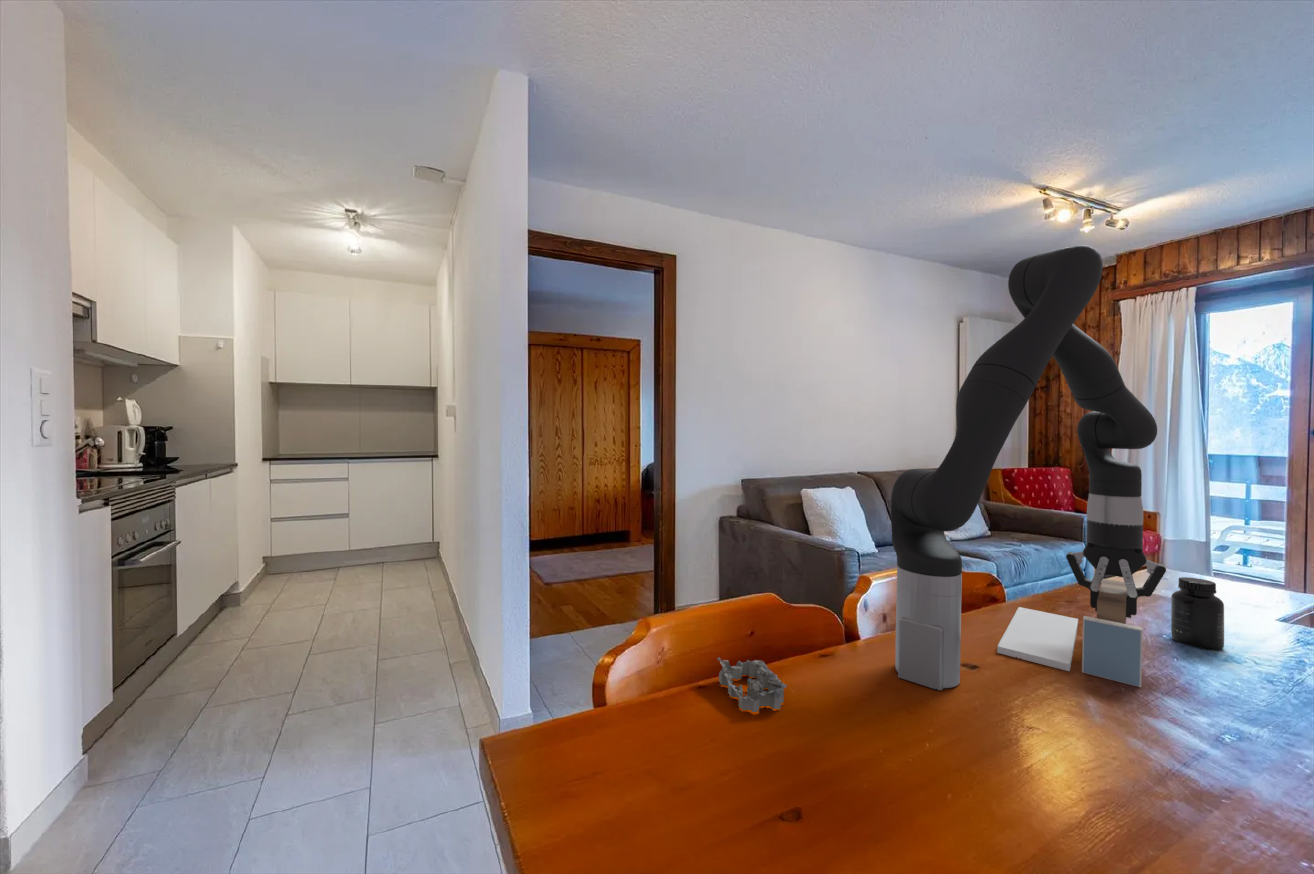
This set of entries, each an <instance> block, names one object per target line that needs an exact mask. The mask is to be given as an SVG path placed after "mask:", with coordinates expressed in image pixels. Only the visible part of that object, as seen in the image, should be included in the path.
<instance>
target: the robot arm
mask: <svg viewBox="0 0 1314 874" xmlns="http://www.w3.org/2000/svg"><path fill="white" fill-rule="evenodd" d="M1103 269H1104V266H1103V258H1102V255H1101V253H1100V252H1099V251H1098V250H1097V249H1096V248H1095V247H1092V246H1089V245H1084V244H1083V245H1073V246H1067V247H1063V248H1062V247H1061V248H1059V249H1055V250H1051V251H1047V252H1043V253H1039V254H1036V255H1032V256H1028V257H1026V258H1023V259H1021V260H1020V261H1018V262H1017V263H1015V265H1014V266H1013V267H1012V270H1011V271H1010V273H1009V276H1008V282H1007V285H1008V292H1009V296H1010V297H1011V299H1012V302H1013V304H1014V305H1015V307H1016V308H1017V310H1018V311H1019V313H1020V314H1021V315H1022V317H1023V320H1021V321H1020V322H1019V323H1018V324H1017V325H1016V326H1014V328H1012V329H1011V330H1010V331H1008V332H1007V333H1006V334H1004V336H1002V337H1001V338H1000V339H998V340H996V342H995V343H994V344H992V345H990V347H988V348H987V349H986V350H985V351H984V352H983V353H982V354H980V356H979V357H978V358H977V360H976V361H975V362H974V364H973V365H972V366H971V368H970V371H969V373H968V374H967V376H966V378H965V380H964V381H963V383H962V385H961V387H960V388H959V391H958V393H957V397H956V403H955V404H956V405H955V407H956V408H955V412H956V413H955V416H956V417H955V418H956V419H955V420H956V421H955V422H956V432H955V435H954V439H953V441H952V444H951V447H950V448H949V450H948V452H947V453H946V455H945V456H944V458H943V460H942V462H941V463H940V465H939V466H938V468H937V469H936V470H932V469H926V468H925V469H924V468H923V469H922V468H914V469H909V470H906V471H905V472H903V473H901V474H900V475H899V476H898V477H897V478H896V481H895V482H894V484H893V487H892V491H891V497H890V521H891V522H890V523H891V524H890V525H891V527H890V528H891V542H892V546H893V549H894V552H895V554H896V601H895V602H896V604H895V607H896V608H895V609H896V610H895V661H894V662H895V665H894V666H895V671H896V672H897V677H898V678H899V679H903V680H905V681H909V682H911V683H914V684H918V685H921V686H924V687H928V688H930V689H933V690H936V689H937V691H939V690H941V691H943V690H944V689H951V688H955V687H957V686H958V685H959V684H961V683H960V681H961V641H962V640H961V636H962V635H961V634H962V633H961V630H962V593H963V591H962V588H963V587H962V582H963V574H962V573H963V559H962V556H961V555H960V553H959V552H958V551H957V550H956V549H955V548H954V547H953V546H952V545H951V543H949V541H948V539H947V537H946V534H945V532H953V531H956V530H959V529H960V528H961V527H963V526H964V525H966V523H967V522H969V520H970V519H971V518H972V517H973V514H974V513H975V511H976V508H977V506H978V505H979V502H980V499H981V497H982V495H983V492H984V490H985V487H986V485H987V483H988V480H989V477H990V475H991V472H992V470H993V468H994V465H995V463H996V460H997V459H998V456H999V455H1000V452H1001V451H1002V449H1003V446H1004V445H1005V443H1006V441H1007V439H1008V438H1009V435H1010V433H1011V431H1012V429H1013V427H1014V425H1015V423H1016V422H1017V420H1018V418H1019V417H1020V415H1021V413H1022V412H1023V411H1024V409H1025V407H1026V405H1027V404H1028V402H1029V400H1030V398H1031V396H1032V394H1033V392H1034V391H1035V389H1036V387H1037V385H1038V382H1039V380H1040V378H1041V377H1042V375H1043V372H1044V371H1045V369H1046V367H1047V366H1048V364H1049V363H1050V361H1051V359H1052V358H1053V359H1054V360H1055V363H1057V366H1058V367H1059V368H1060V370H1061V373H1062V375H1063V377H1064V380H1065V381H1066V384H1067V386H1068V388H1069V390H1070V392H1071V395H1072V396H1073V399H1074V401H1075V403H1076V404H1077V405H1078V407H1079V408H1081V409H1084V410H1086V411H1089V412H1086V413H1085V414H1084V415H1083V416H1082V417H1080V420H1079V421H1078V424H1077V428H1076V432H1077V433H1076V434H1077V438H1078V441H1079V444H1080V447H1081V448H1082V452H1083V455H1084V459H1085V462H1086V465H1087V466H1086V467H1087V468H1088V472H1089V473H1088V475H1089V476H1088V484H1089V485H1088V498H1087V503H1086V504H1087V506H1086V544H1085V545H1086V546H1085V547H1084V548H1083V551H1075V552H1072V551H1069V552H1067V554H1066V555H1065V558H1066V561H1067V562H1068V565H1069V567H1070V569H1071V571H1072V574H1073V576H1074V577H1075V580H1076V582H1077V584H1078V585H1079V586H1080V587H1085V588H1086V589H1088V590H1089V592H1090V594H1089V596H1090V597H1089V601H1090V603H1089V606H1090V607H1091V608H1092V609H1094V611H1095V612H1096V613H1097V599H1098V595H1099V591H1100V588H1101V584H1102V580H1103V579H1104V576H1115V577H1118V578H1123V582H1125V585H1126V589H1127V594H1126V618H1129V619H1131V618H1132V616H1136V615H1137V614H1138V613H1137V612H1138V609H1137V607H1138V604H1137V602H1138V599H1139V598H1141V597H1148V598H1149V597H1151V596H1152V595H1153V594H1154V592H1155V590H1156V589H1157V587H1158V585H1159V584H1160V582H1161V580H1162V579H1163V577H1164V576H1165V573H1166V572H1167V569H1166V566H1165V564H1162V563H1156V562H1154V561H1151V560H1149V559H1147V556H1146V555H1145V553H1144V551H1143V550H1144V548H1143V547H1144V545H1143V544H1144V507H1143V502H1142V501H1143V500H1142V487H1143V486H1142V484H1143V483H1142V481H1143V479H1142V478H1143V477H1142V475H1143V474H1142V469H1141V467H1140V466H1139V465H1137V464H1135V463H1131V462H1126V461H1122V460H1118V459H1116V458H1115V457H1114V455H1113V454H1112V453H1111V451H1110V449H1111V450H1112V449H1113V450H1116V449H1117V450H1141V449H1142V450H1143V449H1145V448H1148V446H1151V445H1152V444H1153V443H1154V441H1155V440H1156V438H1157V435H1158V426H1157V422H1156V419H1155V417H1154V416H1153V414H1152V413H1151V412H1150V411H1149V409H1148V408H1147V407H1146V406H1145V405H1144V404H1143V402H1141V401H1140V400H1139V398H1137V397H1136V396H1135V395H1134V394H1133V393H1132V392H1131V391H1130V389H1128V387H1127V386H1126V385H1125V382H1124V380H1123V377H1122V375H1121V372H1120V370H1119V368H1118V366H1117V362H1115V359H1114V358H1113V356H1112V355H1111V354H1110V353H1109V351H1108V350H1107V349H1106V348H1105V347H1104V346H1102V344H1100V343H1099V342H1097V341H1096V340H1095V339H1093V338H1092V337H1091V336H1089V335H1088V334H1087V333H1085V332H1084V331H1082V330H1081V328H1079V327H1078V326H1076V324H1075V322H1076V321H1077V319H1078V317H1079V316H1080V315H1081V314H1082V312H1083V311H1084V309H1086V307H1087V305H1088V304H1089V302H1090V300H1091V299H1092V298H1093V296H1094V294H1095V293H1096V291H1097V289H1098V288H1099V284H1100V281H1101V280H1102V275H1103ZM1083 558H1085V559H1086V560H1087V561H1088V563H1089V564H1090V565H1091V566H1092V567H1093V568H1094V569H1095V570H1094V573H1093V577H1092V580H1090V579H1088V578H1087V577H1086V576H1085V574H1084V571H1083V569H1082V567H1081V564H1082V563H1083V560H1084V559H1083ZM1144 566H1146V572H1147V573H1148V574H1149V576H1147V578H1146V581H1145V582H1144V584H1143V585H1142V587H1136V583H1135V580H1134V576H1133V575H1134V574H1135V573H1137V571H1138V570H1140V569H1141V568H1142V567H1144Z"/></svg>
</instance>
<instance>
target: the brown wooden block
mask: <svg viewBox="0 0 1314 874" xmlns="http://www.w3.org/2000/svg"><path fill="white" fill-rule="evenodd" d="M1099 590H1100V591H1099V595H1098V599H1097V612H1096V618H1098V619H1103V620H1108V621H1113V622H1118V623H1123V624H1127V617H1126V594H1127V589H1126V585H1125V582H1124V581H1121V580H1115V579H1114V580H1113V579H1108V578H1103V579H1102V582H1101V585H1100V588H1099Z"/></svg>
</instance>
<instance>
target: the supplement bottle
mask: <svg viewBox="0 0 1314 874" xmlns="http://www.w3.org/2000/svg"><path fill="white" fill-rule="evenodd" d="M1216 585H1217V583H1216V582H1214V581H1212V580H1207V579H1204V578H1203V579H1202V578H1197V577H1196V578H1195V577H1182V576H1181V577H1179V578H1178V585H1177V587H1178V589H1179V590H1177V591H1174V592H1172V594H1171V596H1170V607H1171V608H1170V612H1171V613H1170V614H1171V617H1170V619H1171V620H1170V621H1171V622H1170V624H1171V625H1170V631H1171V632H1170V634H1171V638H1172V639H1173V640H1175V641H1176V642H1177V643H1180V644H1181V645H1184V646H1189V647H1191V648H1196V649H1201V650H1209V651H1212V650H1213V651H1220V650H1222V649H1224V647H1225V604H1224V602H1223V600H1222V599H1220V598H1219V597H1218V596H1216V595H1215V594H1217V588H1216V587H1217V586H1216Z"/></svg>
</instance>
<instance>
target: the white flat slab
mask: <svg viewBox="0 0 1314 874" xmlns="http://www.w3.org/2000/svg"><path fill="white" fill-rule="evenodd" d="M1081 653H1082V655H1081V656H1082V657H1081V659H1082V660H1081V673H1082V674H1087V675H1091V676H1095V677H1099V678H1104V679H1105V680H1110V681H1114V682H1117V683H1118V682H1119V683H1123V684H1126V685H1130V686H1134V687H1138V688H1142V671H1143V669H1142V668H1143V666H1142V664H1143V627H1142V626H1138V625H1132V624H1127V623H1126V624H1123V623H1118V622H1113V621H1108V620H1103V619H1098V618H1097V617H1092V616H1087V615H1083V618H1082V652H1081Z"/></svg>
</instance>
